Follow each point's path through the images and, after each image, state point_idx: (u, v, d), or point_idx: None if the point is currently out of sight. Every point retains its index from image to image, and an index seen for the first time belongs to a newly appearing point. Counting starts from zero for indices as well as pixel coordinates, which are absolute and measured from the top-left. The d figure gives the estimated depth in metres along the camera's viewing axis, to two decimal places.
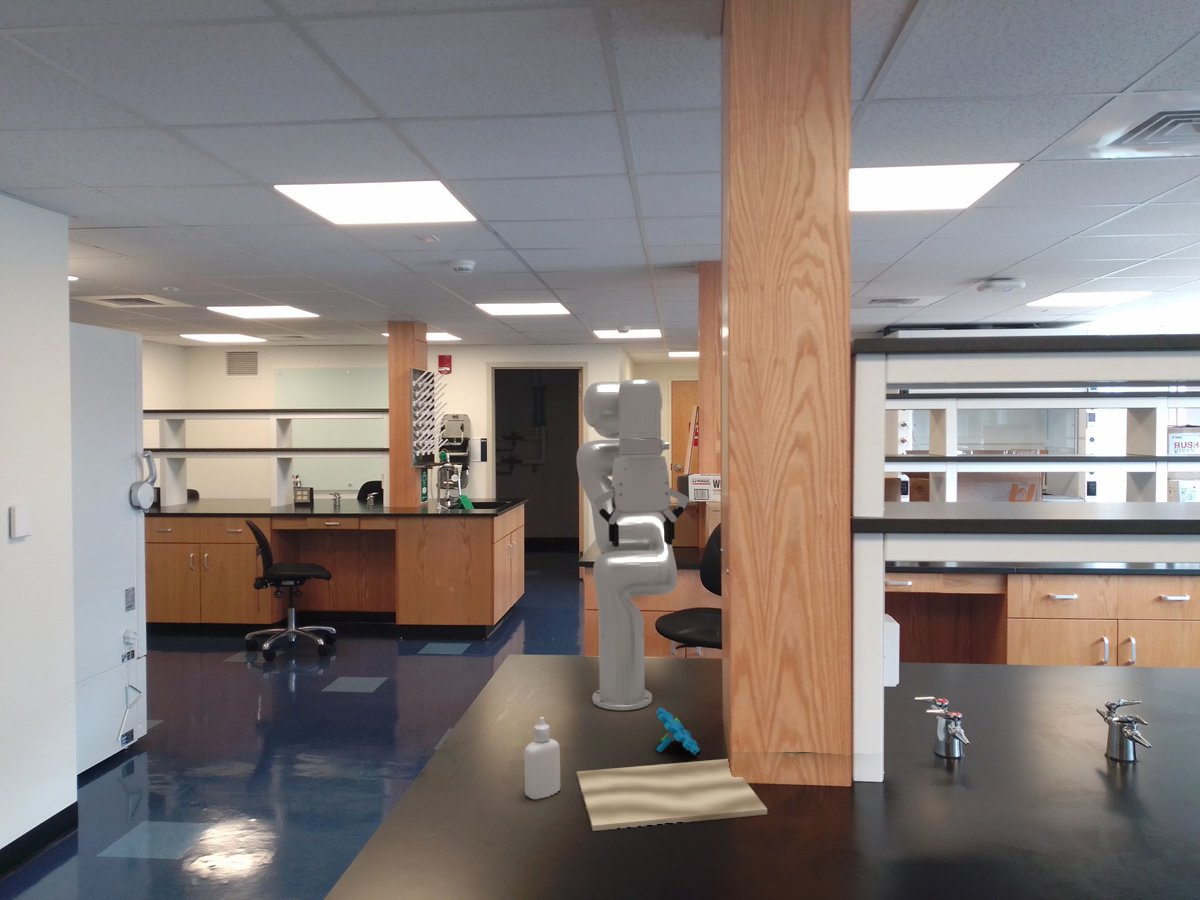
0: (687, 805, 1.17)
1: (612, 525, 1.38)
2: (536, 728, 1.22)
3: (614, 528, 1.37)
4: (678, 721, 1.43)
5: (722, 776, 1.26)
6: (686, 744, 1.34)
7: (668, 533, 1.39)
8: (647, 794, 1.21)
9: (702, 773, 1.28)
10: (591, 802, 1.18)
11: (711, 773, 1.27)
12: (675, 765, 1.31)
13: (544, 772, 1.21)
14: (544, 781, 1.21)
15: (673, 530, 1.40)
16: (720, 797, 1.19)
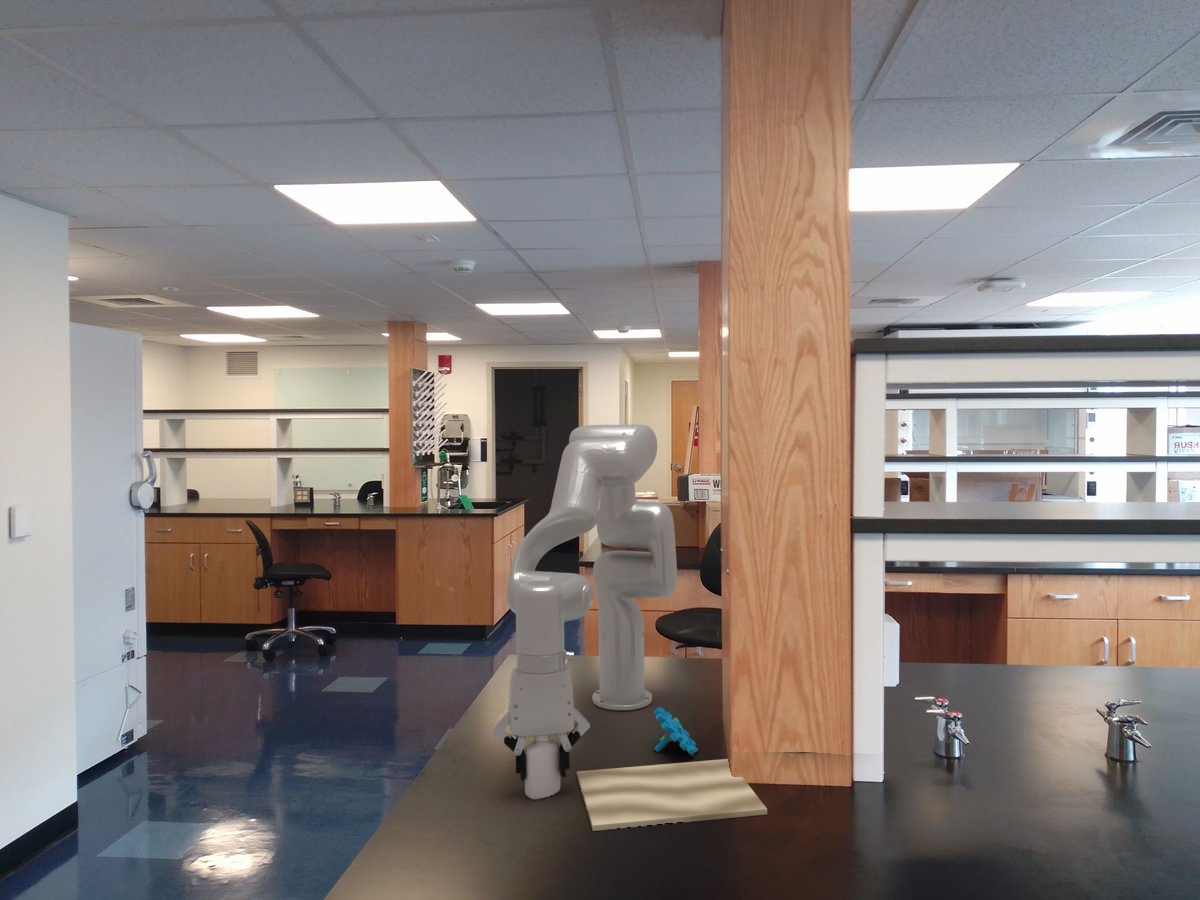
0: (687, 805, 1.17)
1: (518, 755, 1.22)
2: None
3: (520, 760, 1.21)
4: (677, 721, 1.43)
5: (722, 776, 1.26)
6: (683, 744, 1.34)
7: (561, 764, 1.22)
8: (647, 794, 1.21)
9: (702, 773, 1.28)
10: (591, 802, 1.18)
11: (711, 773, 1.27)
12: (675, 765, 1.31)
13: (544, 772, 1.21)
14: (544, 781, 1.21)
15: (568, 759, 1.23)
16: (720, 797, 1.19)
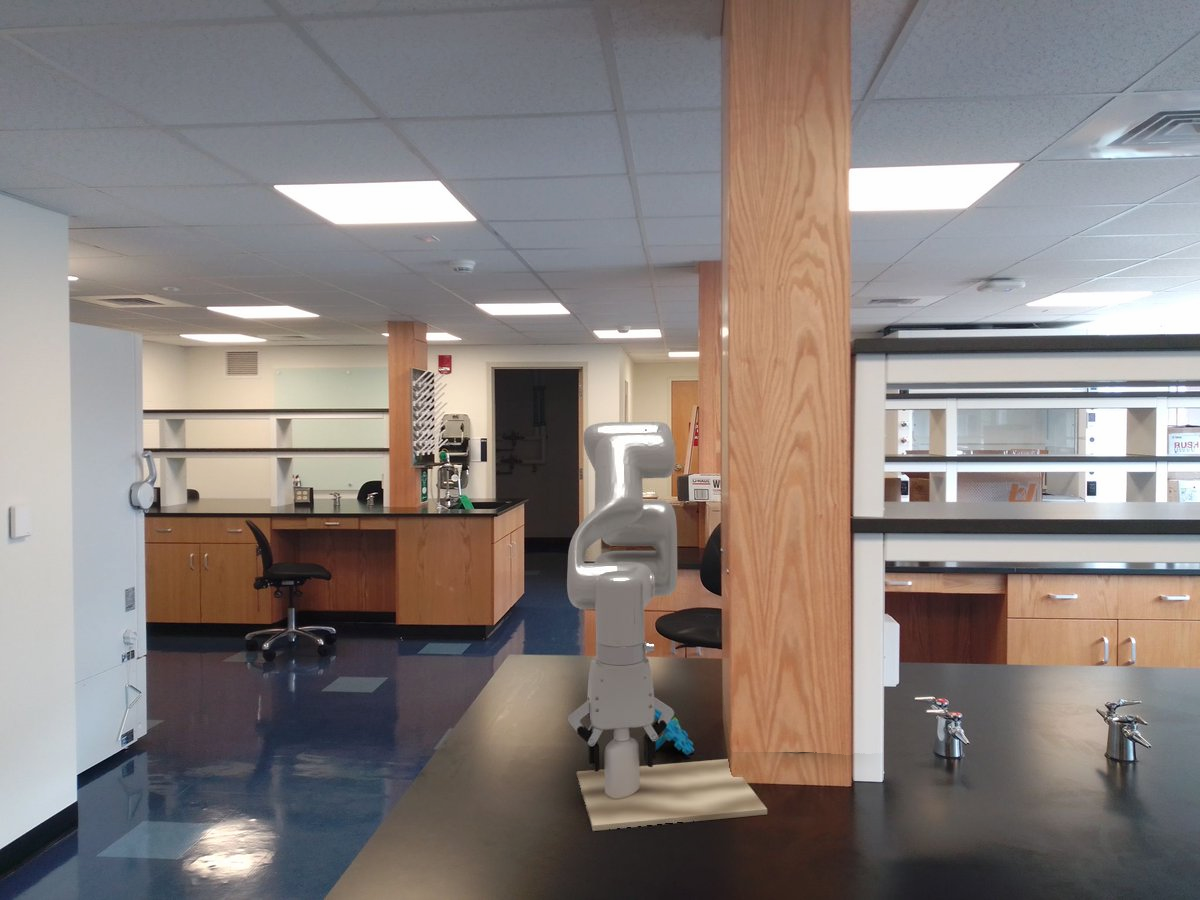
0: (687, 805, 1.17)
1: (592, 746, 1.19)
2: None
3: (594, 750, 1.19)
4: (676, 721, 1.43)
5: (722, 776, 1.26)
6: (677, 744, 1.34)
7: (648, 754, 1.20)
8: (647, 794, 1.21)
9: (702, 773, 1.28)
10: (591, 802, 1.18)
11: (711, 773, 1.27)
12: (675, 765, 1.31)
13: (625, 771, 1.19)
14: (624, 780, 1.19)
15: (654, 749, 1.21)
16: (720, 797, 1.19)
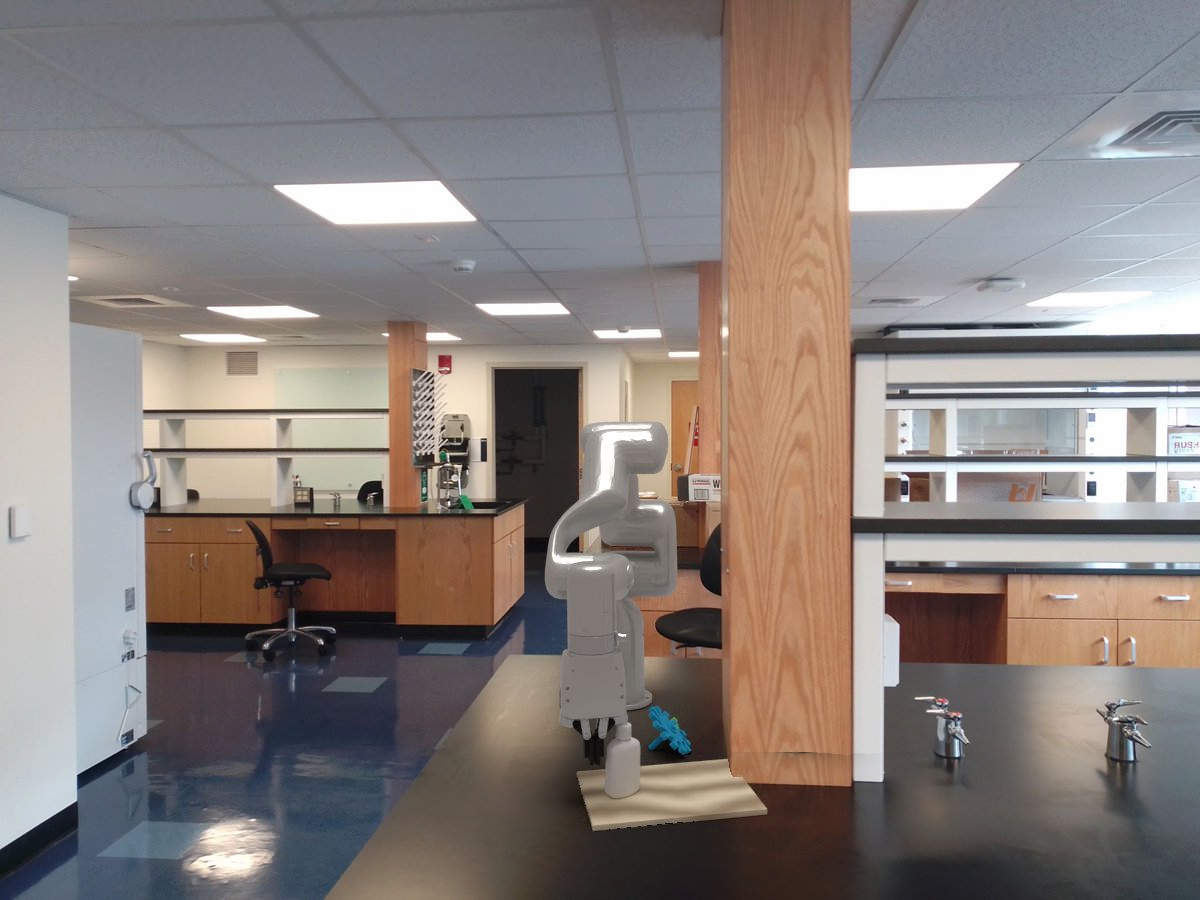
0: (687, 805, 1.17)
1: (587, 739, 1.19)
2: (618, 726, 1.20)
3: (589, 744, 1.19)
4: (675, 720, 1.43)
5: (722, 776, 1.26)
6: (673, 743, 1.34)
7: (596, 751, 1.19)
8: (647, 794, 1.21)
9: (702, 773, 1.28)
10: (591, 802, 1.18)
11: (711, 773, 1.27)
12: (675, 765, 1.31)
13: (625, 771, 1.19)
14: (625, 780, 1.19)
15: (602, 747, 1.19)
16: (720, 797, 1.19)
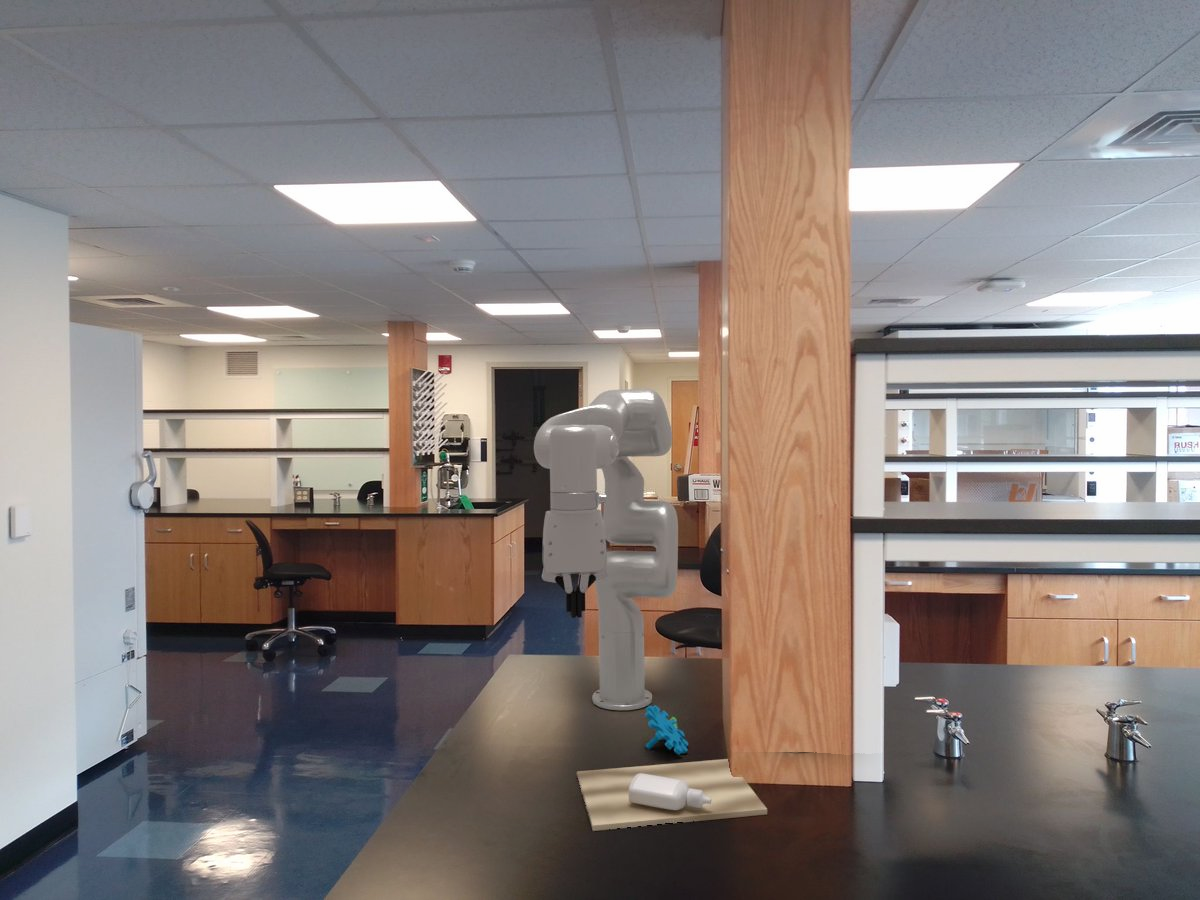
0: (687, 805, 1.17)
1: (569, 594, 1.25)
2: (699, 803, 1.14)
3: (571, 597, 1.25)
4: (674, 720, 1.43)
5: (722, 776, 1.26)
6: (668, 743, 1.34)
7: (577, 605, 1.25)
8: None
9: (702, 773, 1.28)
10: (591, 802, 1.18)
11: (711, 773, 1.27)
12: (675, 765, 1.31)
13: None
14: None
15: (584, 601, 1.26)
16: (720, 797, 1.19)
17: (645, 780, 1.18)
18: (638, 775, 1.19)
